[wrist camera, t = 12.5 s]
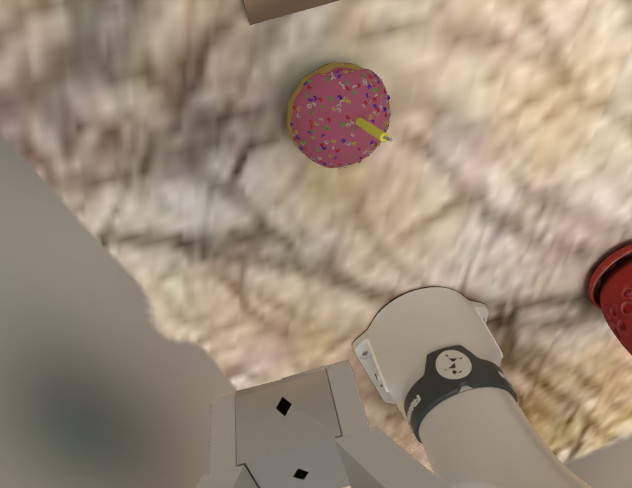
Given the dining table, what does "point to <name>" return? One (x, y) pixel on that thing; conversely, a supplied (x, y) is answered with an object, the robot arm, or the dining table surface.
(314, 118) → the cupcake
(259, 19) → the guide board
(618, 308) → the plant pot
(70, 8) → the dining table surface
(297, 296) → the dining table surface
